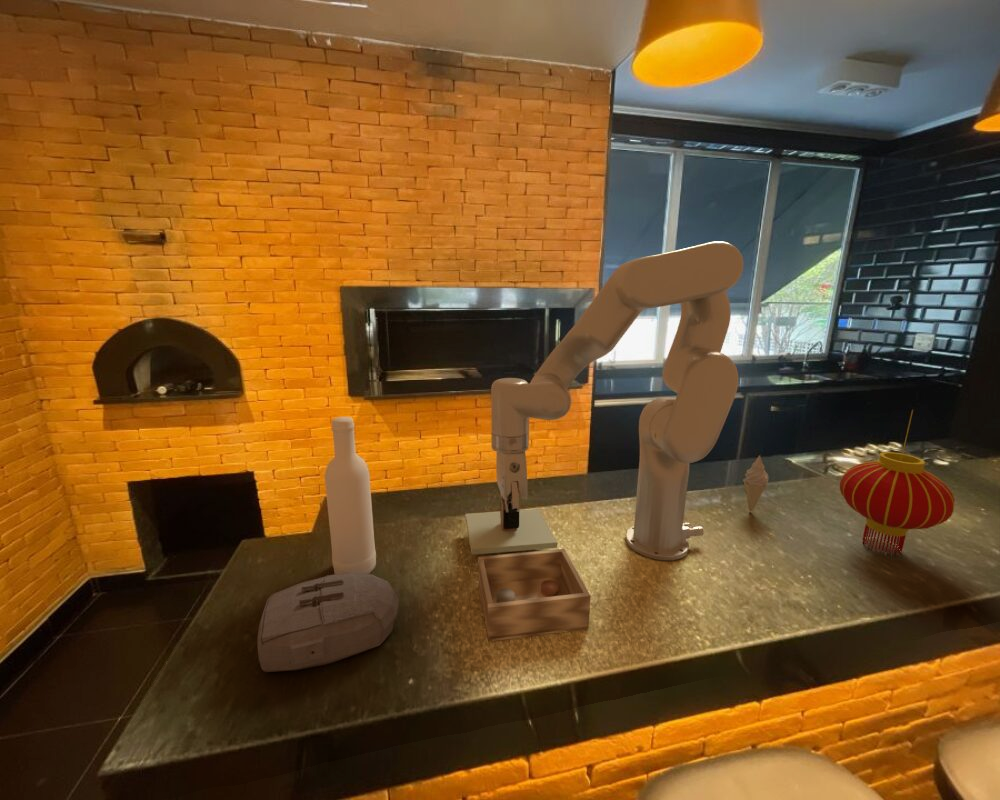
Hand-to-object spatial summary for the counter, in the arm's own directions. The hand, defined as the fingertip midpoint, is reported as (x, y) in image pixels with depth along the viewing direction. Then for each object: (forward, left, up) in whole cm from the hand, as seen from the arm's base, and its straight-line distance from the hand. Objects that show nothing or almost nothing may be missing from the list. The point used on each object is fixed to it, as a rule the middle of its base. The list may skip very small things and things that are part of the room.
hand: (509, 522), depth 89 cm
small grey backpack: (+32, +20, -6) cm, 38 cm away
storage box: (0, +19, -5) cm, 20 cm away
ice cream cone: (-61, -4, -5) cm, 61 cm away
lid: (0, 0, -2) cm, 2 cm away
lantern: (-77, +14, -5) cm, 78 cm away
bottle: (+31, +3, -5) cm, 32 cm away
